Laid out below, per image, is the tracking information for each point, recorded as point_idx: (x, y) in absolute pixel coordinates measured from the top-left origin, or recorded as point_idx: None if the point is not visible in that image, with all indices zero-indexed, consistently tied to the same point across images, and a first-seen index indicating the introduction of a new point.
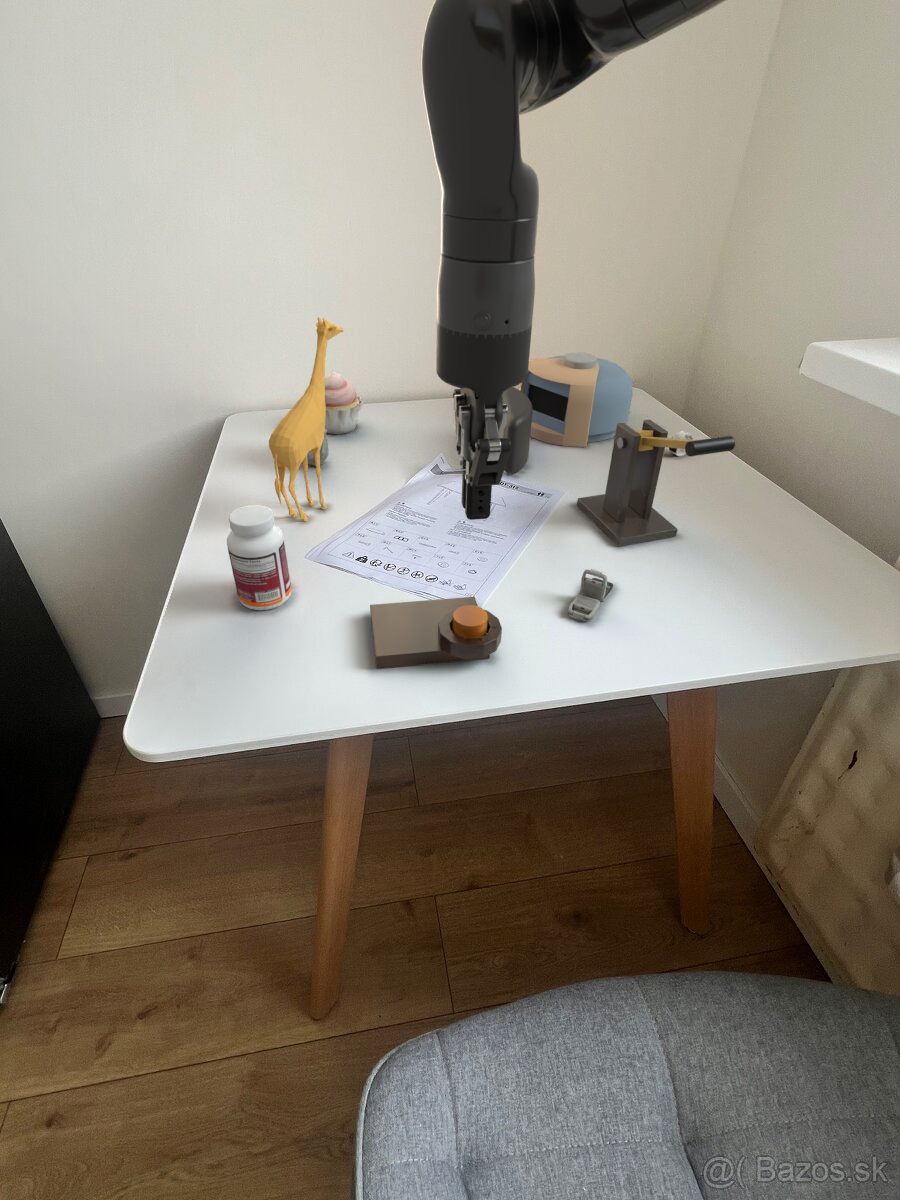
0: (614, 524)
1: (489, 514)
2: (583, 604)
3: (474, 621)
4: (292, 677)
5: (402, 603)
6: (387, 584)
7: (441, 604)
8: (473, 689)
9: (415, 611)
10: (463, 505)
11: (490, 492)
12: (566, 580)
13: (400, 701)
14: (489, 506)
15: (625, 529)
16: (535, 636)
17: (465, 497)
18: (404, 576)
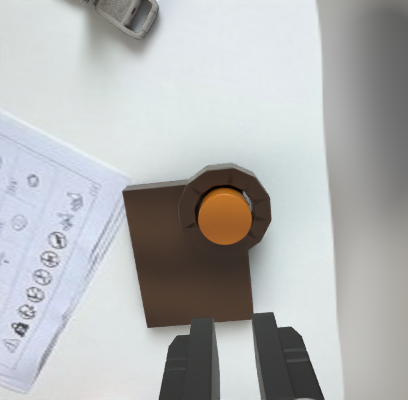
0: None
1: (272, 314)
2: (125, 7)
3: (240, 215)
4: None
5: (143, 289)
6: (77, 297)
7: (144, 239)
8: (297, 199)
9: (161, 273)
10: (219, 374)
11: (288, 368)
12: (40, 22)
13: (309, 282)
14: (277, 332)
15: None
16: (192, 101)
17: (219, 390)
18: (56, 276)
